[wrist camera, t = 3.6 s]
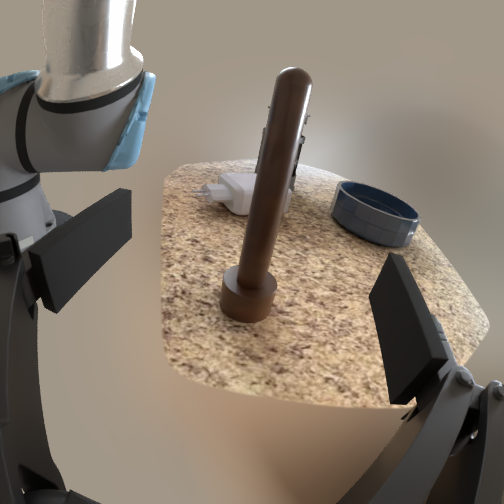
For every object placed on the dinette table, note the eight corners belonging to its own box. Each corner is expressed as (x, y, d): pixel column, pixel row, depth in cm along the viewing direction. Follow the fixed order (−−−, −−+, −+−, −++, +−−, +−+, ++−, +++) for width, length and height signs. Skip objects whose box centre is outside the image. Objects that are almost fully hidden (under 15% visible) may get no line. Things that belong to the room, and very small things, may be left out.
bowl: (321, 225, 48) (331, 193, 45) (335, 200, 62) (343, 175, 59) (413, 262, 43) (427, 231, 40) (406, 227, 57) (415, 203, 54)
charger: (185, 196, 48) (260, 194, 55) (201, 220, 41) (286, 216, 48) (187, 170, 45) (265, 171, 52) (205, 190, 39) (293, 190, 46)
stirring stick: (209, 308, 26) (250, 56, 15) (234, 282, 30) (276, 68, 19) (258, 331, 25) (325, 68, 14) (277, 300, 29) (337, 80, 18)
